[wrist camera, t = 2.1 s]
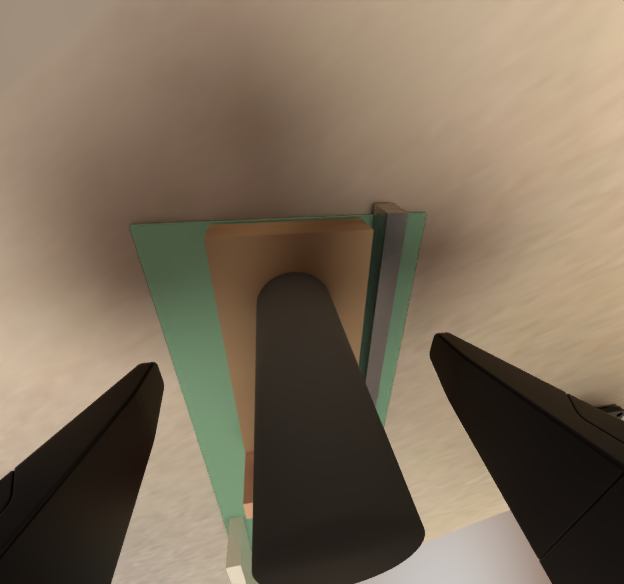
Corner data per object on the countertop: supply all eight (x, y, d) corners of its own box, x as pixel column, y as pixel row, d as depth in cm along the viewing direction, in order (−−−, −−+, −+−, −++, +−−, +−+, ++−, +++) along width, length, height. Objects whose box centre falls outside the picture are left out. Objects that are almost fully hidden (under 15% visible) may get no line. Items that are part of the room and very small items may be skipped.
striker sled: (361, 218, 12) (572, 421, 4) (342, 431, 19) (404, 661, 11) (210, 224, 11) (80, 496, 3) (249, 444, 18) (240, 703, 10)
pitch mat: (424, 212, 13) (426, 213, 13) (361, 536, 29) (361, 538, 29) (130, 224, 11) (128, 226, 11) (237, 559, 27) (236, 562, 27)
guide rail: (393, 202, 12) (408, 212, 11) (352, 494, 24) (357, 515, 23) (374, 203, 12) (387, 213, 11) (343, 495, 24) (347, 517, 23)
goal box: (365, 495, 24) (377, 538, 22) (357, 537, 28) (366, 578, 26) (229, 518, 23) (225, 568, 20) (241, 559, 27) (239, 605, 24)
